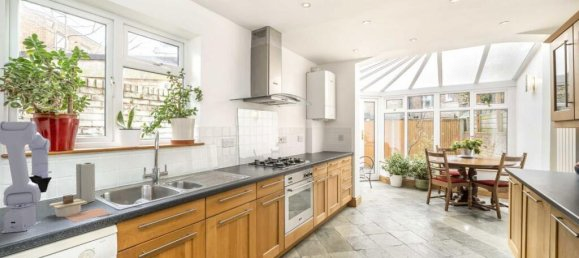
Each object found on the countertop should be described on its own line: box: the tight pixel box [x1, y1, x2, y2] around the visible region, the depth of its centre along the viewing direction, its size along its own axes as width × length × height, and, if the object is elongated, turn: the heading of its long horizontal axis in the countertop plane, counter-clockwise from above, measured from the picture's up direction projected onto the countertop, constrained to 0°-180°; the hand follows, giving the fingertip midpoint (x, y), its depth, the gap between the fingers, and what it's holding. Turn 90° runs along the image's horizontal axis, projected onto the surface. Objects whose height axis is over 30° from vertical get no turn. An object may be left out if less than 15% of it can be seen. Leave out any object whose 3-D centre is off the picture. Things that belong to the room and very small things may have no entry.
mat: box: [63, 207, 111, 223], centre depth 120 cm, size 14×14×1 cm
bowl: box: [54, 205, 82, 218], centre depth 122 cm, size 9×9×4 cm
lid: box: [48, 194, 88, 210], centre depth 122 cm, size 11×11×4 cm
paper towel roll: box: [75, 162, 96, 204], centre depth 142 cm, size 7×6×21 cm
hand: (40, 191), depth 124 cm, fingers open, 7 cm apart
